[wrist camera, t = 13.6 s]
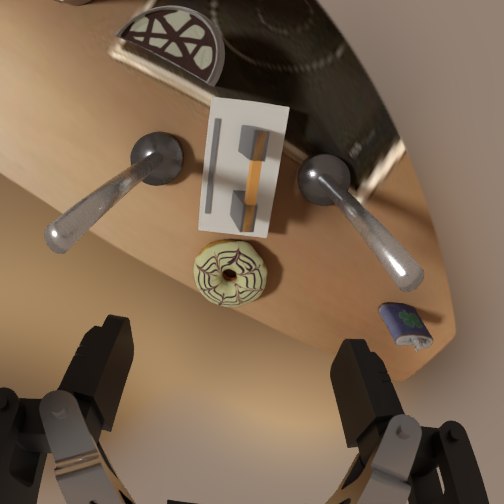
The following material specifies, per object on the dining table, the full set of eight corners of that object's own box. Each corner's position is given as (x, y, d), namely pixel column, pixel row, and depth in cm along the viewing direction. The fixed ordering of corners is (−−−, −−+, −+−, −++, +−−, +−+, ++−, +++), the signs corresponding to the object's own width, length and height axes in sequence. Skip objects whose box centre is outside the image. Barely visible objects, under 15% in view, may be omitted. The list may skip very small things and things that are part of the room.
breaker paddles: (229, 214, 37) (239, 232, 33) (241, 124, 31) (254, 129, 27) (242, 214, 37) (253, 232, 33) (255, 126, 32) (269, 131, 28)
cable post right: (292, 198, 40) (347, 319, 18) (302, 148, 36) (384, 220, 15) (340, 205, 40) (427, 321, 19) (351, 158, 37) (467, 237, 16)
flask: (375, 311, 50) (396, 353, 41) (382, 299, 49) (406, 340, 39) (410, 317, 52) (433, 355, 42) (418, 306, 50) (443, 343, 41)
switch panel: (201, 221, 41) (198, 230, 38) (214, 97, 33) (211, 96, 30) (265, 228, 42) (266, 238, 39) (286, 107, 34) (289, 107, 31)
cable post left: (133, 180, 38) (28, 279, 16) (135, 130, 34) (10, 182, 13) (182, 184, 38) (111, 295, 17) (186, 133, 35) (101, 185, 14)
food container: (248, 53, 30) (250, 36, 22) (220, 90, 33) (211, 86, 24) (169, 11, 27) (146, -14, 18) (142, 48, 29) (111, 33, 20)
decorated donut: (248, 223, 42) (248, 235, 38) (276, 281, 46) (278, 296, 43) (183, 251, 43) (179, 264, 40) (216, 303, 48) (215, 318, 45)
